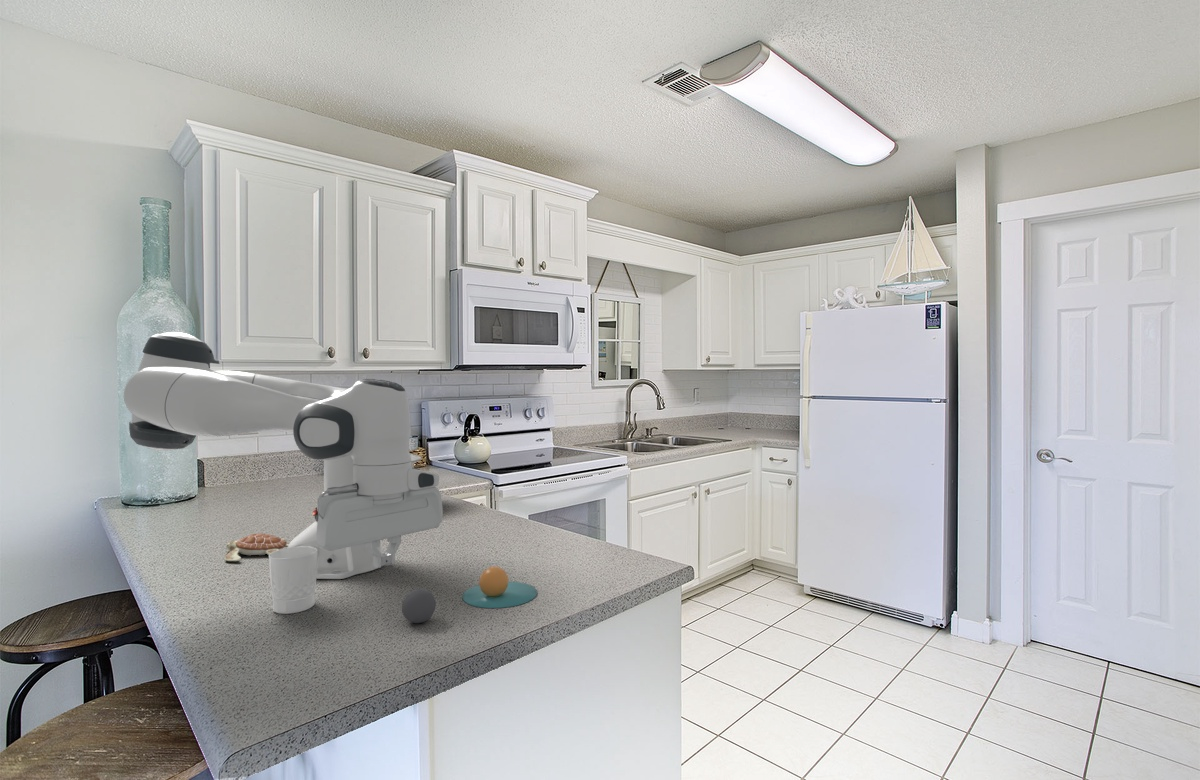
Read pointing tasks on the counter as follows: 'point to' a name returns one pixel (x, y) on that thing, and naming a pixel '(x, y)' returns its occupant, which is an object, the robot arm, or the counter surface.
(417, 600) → the dark gray ball
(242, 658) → the counter surface
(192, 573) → the counter surface
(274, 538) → the decorative turtle
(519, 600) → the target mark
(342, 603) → the counter surface
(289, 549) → the white cup
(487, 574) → the object ball
